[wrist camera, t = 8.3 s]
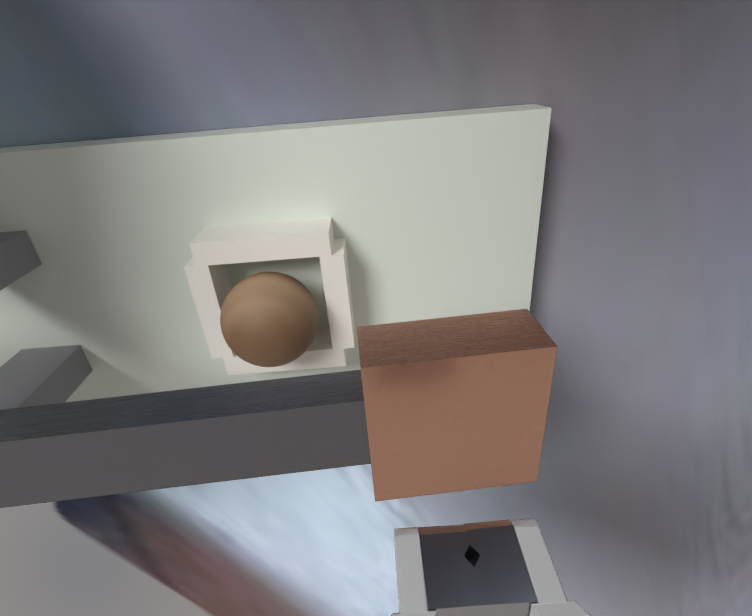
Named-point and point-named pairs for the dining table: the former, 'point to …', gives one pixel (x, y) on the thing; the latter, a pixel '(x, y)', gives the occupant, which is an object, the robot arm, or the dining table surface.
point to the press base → (255, 242)
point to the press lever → (310, 420)
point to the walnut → (269, 319)
